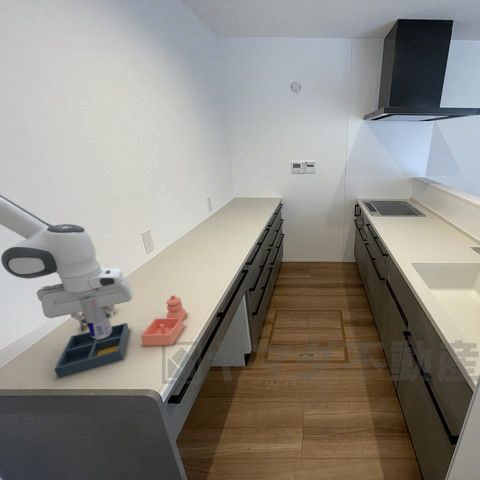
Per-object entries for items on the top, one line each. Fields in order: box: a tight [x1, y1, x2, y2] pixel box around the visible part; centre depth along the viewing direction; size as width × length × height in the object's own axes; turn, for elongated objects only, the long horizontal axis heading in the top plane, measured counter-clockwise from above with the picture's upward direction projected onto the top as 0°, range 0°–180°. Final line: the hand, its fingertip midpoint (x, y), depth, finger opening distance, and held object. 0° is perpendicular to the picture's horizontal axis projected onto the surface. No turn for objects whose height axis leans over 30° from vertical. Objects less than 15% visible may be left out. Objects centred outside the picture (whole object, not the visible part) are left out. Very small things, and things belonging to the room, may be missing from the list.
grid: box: [54, 322, 130, 379], centre depth 85 cm, size 15×15×4 cm
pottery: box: [140, 294, 187, 346], centre depth 96 cm, size 18×10×10 cm, turn 3°
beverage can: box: [79, 296, 112, 340], centre depth 79 cm, size 5×5×15 cm
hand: (97, 319), depth 80 cm, fingers closed on beverage can, 5 cm apart
